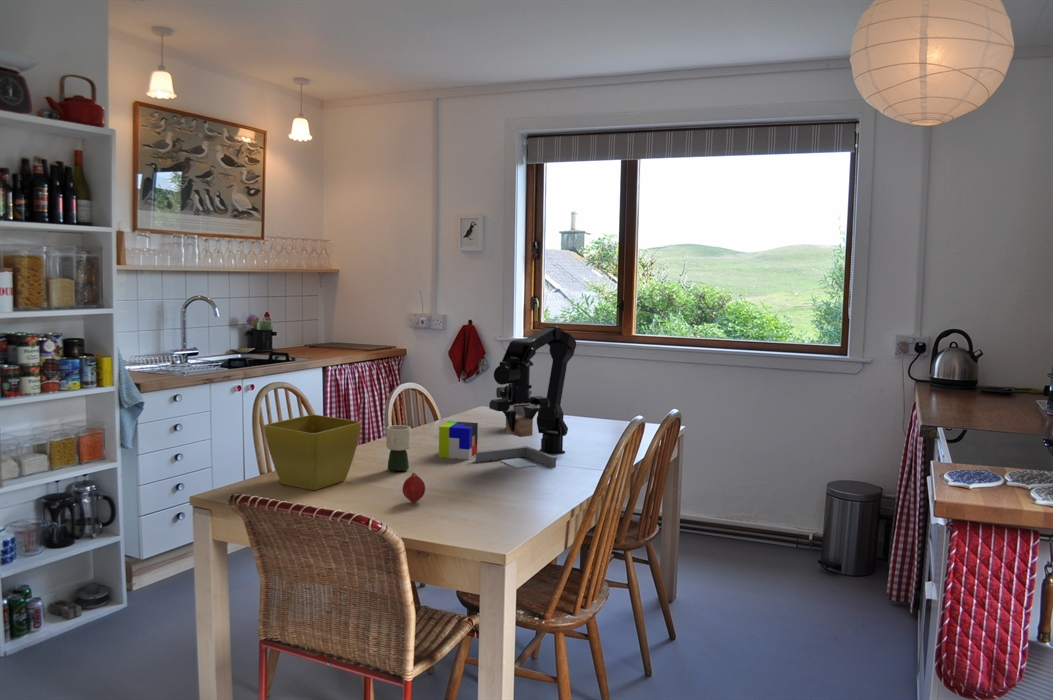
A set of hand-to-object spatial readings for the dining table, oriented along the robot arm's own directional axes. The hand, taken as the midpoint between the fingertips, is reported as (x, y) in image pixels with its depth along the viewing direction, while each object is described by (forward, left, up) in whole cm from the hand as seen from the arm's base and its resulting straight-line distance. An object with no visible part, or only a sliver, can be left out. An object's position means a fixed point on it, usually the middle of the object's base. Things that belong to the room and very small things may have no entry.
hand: (519, 430), depth 243 cm
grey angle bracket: (+1, 0, -10) cm, 10 cm away
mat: (0, 0, -10) cm, 10 cm away
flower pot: (+63, -6, -11) cm, 64 cm away
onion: (+46, +24, -11) cm, 52 cm away
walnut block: (0, 0, -1) cm, 1 cm away
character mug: (+37, -8, -11) cm, 39 cm away
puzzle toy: (+12, -18, -11) cm, 24 cm away
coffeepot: (-28, -48, -11) cm, 57 cm away
